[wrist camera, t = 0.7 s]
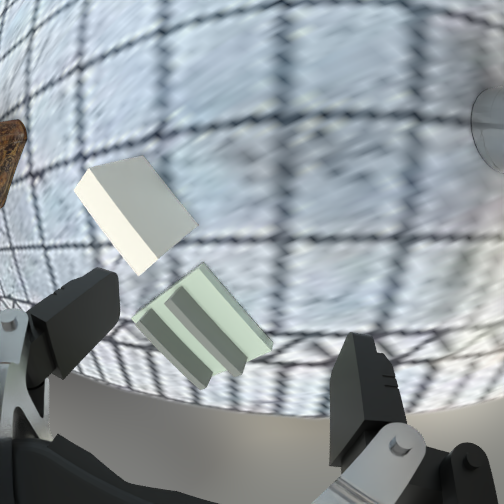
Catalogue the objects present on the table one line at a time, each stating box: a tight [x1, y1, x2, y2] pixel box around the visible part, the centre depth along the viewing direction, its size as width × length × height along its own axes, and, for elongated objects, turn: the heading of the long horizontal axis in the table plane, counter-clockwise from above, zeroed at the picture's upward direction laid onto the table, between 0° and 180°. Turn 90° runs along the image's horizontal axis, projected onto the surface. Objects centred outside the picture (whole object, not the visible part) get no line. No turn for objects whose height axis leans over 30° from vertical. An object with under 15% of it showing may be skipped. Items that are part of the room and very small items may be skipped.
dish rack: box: [131, 262, 273, 390], centre depth 35 cm, size 14×13×4 cm
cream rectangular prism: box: [74, 155, 198, 276], centre depth 27 cm, size 3×10×9 cm, turn 39°
